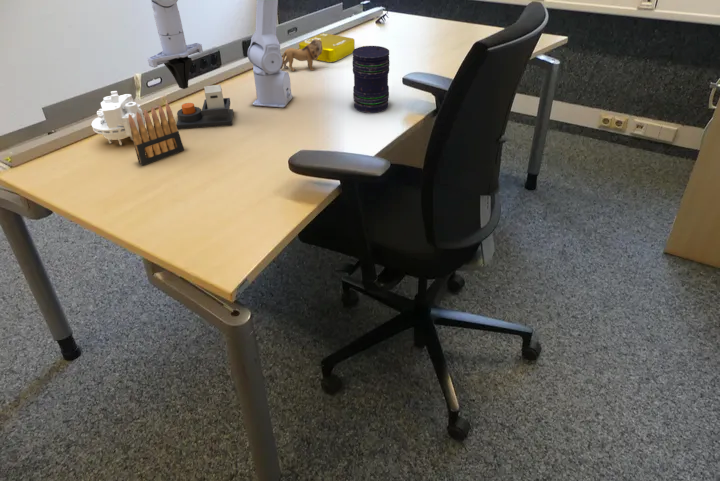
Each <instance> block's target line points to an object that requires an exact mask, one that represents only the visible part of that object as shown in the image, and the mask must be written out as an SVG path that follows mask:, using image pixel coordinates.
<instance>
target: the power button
mask: <svg viewBox="0 0 720 481" xmlns="http://www.w3.org/2000/svg"><path fill="white" fill-rule="evenodd" d="M195 107H196V106H195V103H193V102H186V103H183V104H182V105H181V109H182V110H183V114H193V113H195V112H196V111H195Z"/></svg>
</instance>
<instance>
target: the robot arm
mask: <svg viewBox="0 0 720 481" xmlns="http://www.w3.org/2000/svg"><path fill="white" fill-rule="evenodd" d="M178 1H179V0H150V2H151V6H152V7H151V8H152V11H153V17H154V21H155V22H154V23H155V25H156V29H157V33H158V37H159V41H160V45H161V46H160V47H161V50H162V51H160V52H158V53H156V54H153V55H152V56H150V57H147V58H146V59H147V64H148V66H149V67H150V68H153V69H154V68H158V66H160V65H164V66H165V67H166V69H168V71H169V72H170V73H171V75H172V76H173V79H174V80H175V82H176V83H177V86H178V88H180V89H182V90H186V89H188V88H189V77H190V69H191V66H192V64H193V60H192V57H189V56H192V55H195V54H198V53H203V52H204V49H203V45H202V44H201V43H198V42H195V43H191V44H187V41H186V38H185V33H184V32H185V31H184V28H183V23H182V19H181V15H180V11H179V7H178ZM278 4H279V0H256V7H255V31H254V33H253V34H252V35H251V38H250V44H249V47H248V48H247V54H246V55H247V58H248V61H249V62H250V63H251V64H252V67H253V68H252V72H253V79H254V84H255V85H254V86H255V93H256V99H255V100H254V101H253V103H252V106H256V107H267V108H268V107H269V108H270V107H271V108H286V106H287V105H288V104H289V103H290V101H291V100H292V99H293V97H294V96H293V95H292V84H291V77H290V73H289V72H288V71H286V70H282V69H280V68H281V66H282V62H283V55H282V53H281V44H280V42H279V39H278V36H277V24H278V23H277V21H278V8H279V5H278Z"/></svg>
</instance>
